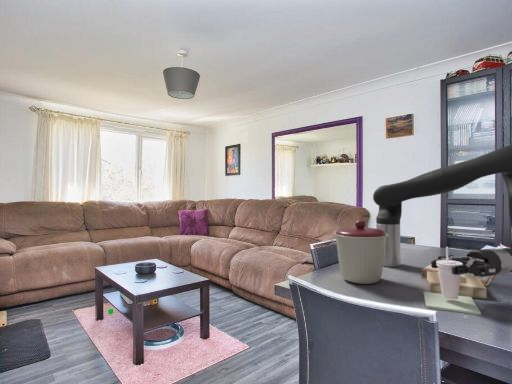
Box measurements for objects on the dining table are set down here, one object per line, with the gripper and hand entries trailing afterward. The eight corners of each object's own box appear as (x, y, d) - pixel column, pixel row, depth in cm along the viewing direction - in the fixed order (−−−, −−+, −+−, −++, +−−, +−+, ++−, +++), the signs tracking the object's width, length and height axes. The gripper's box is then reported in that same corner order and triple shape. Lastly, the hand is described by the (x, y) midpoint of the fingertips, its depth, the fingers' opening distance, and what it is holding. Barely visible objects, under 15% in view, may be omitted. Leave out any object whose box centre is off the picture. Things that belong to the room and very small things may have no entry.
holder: (430, 292, 93) (430, 282, 93) (427, 279, 106) (427, 271, 106) (486, 298, 87) (486, 288, 87) (475, 284, 100) (475, 275, 100)
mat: (426, 307, 82) (426, 305, 82) (423, 293, 93) (423, 291, 93) (480, 315, 77) (480, 312, 77) (471, 299, 87) (471, 297, 87)
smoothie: (431, 293, 87) (430, 245, 87) (452, 292, 88) (451, 244, 88) (447, 301, 81) (446, 249, 81) (469, 300, 82) (468, 248, 81)
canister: (380, 292, 94) (379, 224, 94) (326, 282, 105) (325, 221, 105) (394, 277, 109) (393, 219, 109) (345, 270, 120) (344, 216, 119)
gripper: (466, 244, 95) (421, 248, 91) (516, 254, 81) (466, 259, 77) (466, 268, 95) (422, 273, 91) (516, 282, 81) (466, 289, 77)
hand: (442, 267), depth 84 cm, fingers closed on smoothie, 6 cm apart
